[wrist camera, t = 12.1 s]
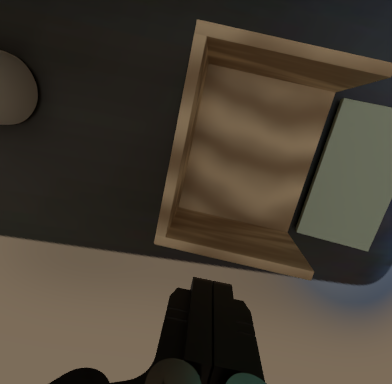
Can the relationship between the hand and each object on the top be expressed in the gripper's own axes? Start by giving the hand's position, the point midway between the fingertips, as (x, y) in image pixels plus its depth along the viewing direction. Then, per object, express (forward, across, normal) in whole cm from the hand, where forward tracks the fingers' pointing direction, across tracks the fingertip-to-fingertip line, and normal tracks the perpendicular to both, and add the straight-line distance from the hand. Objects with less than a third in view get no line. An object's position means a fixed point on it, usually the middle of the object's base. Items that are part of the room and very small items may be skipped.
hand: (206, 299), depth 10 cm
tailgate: (+24, -13, -3) cm, 27 cm away
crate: (+25, -4, -4) cm, 26 cm away
